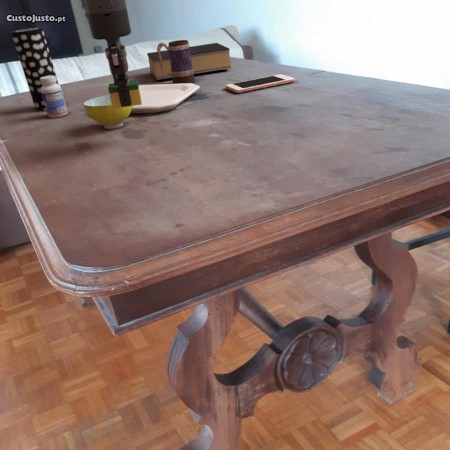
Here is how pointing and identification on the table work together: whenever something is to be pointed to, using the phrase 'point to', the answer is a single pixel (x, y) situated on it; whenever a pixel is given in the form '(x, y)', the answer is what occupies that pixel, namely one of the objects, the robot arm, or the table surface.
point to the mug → (178, 61)
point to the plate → (163, 97)
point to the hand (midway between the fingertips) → (126, 102)
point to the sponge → (133, 92)
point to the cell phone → (259, 83)
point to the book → (193, 60)
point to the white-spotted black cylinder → (34, 61)
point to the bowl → (106, 112)
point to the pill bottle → (53, 97)
